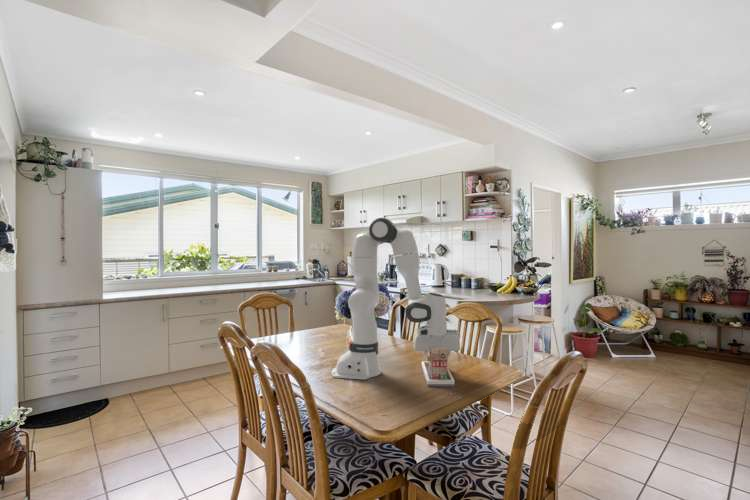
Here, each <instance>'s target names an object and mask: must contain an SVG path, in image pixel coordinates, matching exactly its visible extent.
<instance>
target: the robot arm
mask: <svg viewBox="0 0 750 500" xmlns="http://www.w3.org/2000/svg"><path fill="white" fill-rule="evenodd" d="M415 239H416V238H415V236H414V234H413V232H412V231H411V230H408V229H398V228H397V227H396V225H395V223H394V222H393V221H392V220H391V219H389V218H385V217H378V218H375V219H374V220H372V222H371V223H370V225H369V228H368V232H362V233H359V234H357V235H356V237H355V239H354V244H353V250H352V275H353V278H354V283H355V290H353V292H351V294H350V295H349V297H348V299H347V305H348V309H349V310H350V311H349V312H350V317H351V321H352V340H349V341H348V350H347V351H345V353H343V354H342V355H341V356H340V357H338V359H337V362H336V365H335V367H334V368H332V370H331V376H332V377H333V378H337V379H353V380H363V381H364V380H368V379H371V378H373V377H377V376H379V375H381V373H382V371H381V366H380V362H379V351H380V350H379V341H378V323H377V321H376V315H375V308H376V307H377V306H378V304H379V302H380V299H381V295H380V294H381V293H380V287H379V286H380V285H379V279H378V247H379V245H382V244H385V243H386V244H390V246H391V249H392V253H393V260H394V262H395V263H394V264H395V267H396V268H397V270H398V272H399V274H400V275H401V276H402V277H403V280H404V281H405V286H406V290H407V292H406V293H407V296H408V297H407V299H408V300H407V304H406V307H405V310H404V311H405V316H406V318H407V320H408V321H410V322H411V323H415V324H416V323H418V324H419V323H424V322H426V324H425V325H421V326H419V327H417V328H416V334H415V336H414V342H413V343H414V344H413V349H414V351H416V352H423V354H424V356H425V361H430V356H429V355H428V351H431V347H445V349H446V352H447V362H448V361H449V357H450V355H451V352H459V351H460V350H461V342H460V339H461V332H460V331H459V330H458V329H447V328H448V327H447V326H448V324H447V301H446V298H445V296H443V295H442V294H440V293H437V292H428V293H427V294H426V295H424V296H423V295H422V290H421V286H420V280H419V273H420V272H419V270H420V255H419V250H418V245H417V243H416V240H415Z"/></svg>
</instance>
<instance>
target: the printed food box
mask: <svg viewBox="0 0 750 500" xmlns="http://www.w3.org/2000/svg"><path fill="white" fill-rule="evenodd" d="M427 356H430V361H429V369H430V373H431V378H432V380H447V367H448V361H447V352H446V349H445V347H431V351H427Z"/></svg>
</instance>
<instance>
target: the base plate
mask: <svg viewBox="0 0 750 500" xmlns="http://www.w3.org/2000/svg"><path fill="white" fill-rule="evenodd" d="M421 369H422V373H423V376H424V379H425V383H426V385H427V387H435V388H436V387H437V388H438V387H439V388H441V387H442V388H444V387H445V388H448V387H450V388H454V387H456V385H455V382H456V381H455V380H456V379H454V377H453V374H452V372H451V371H450V368H449V366H447V380H432V378H431V373H430V369H429V361H427V360H423V361H421Z"/></svg>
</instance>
